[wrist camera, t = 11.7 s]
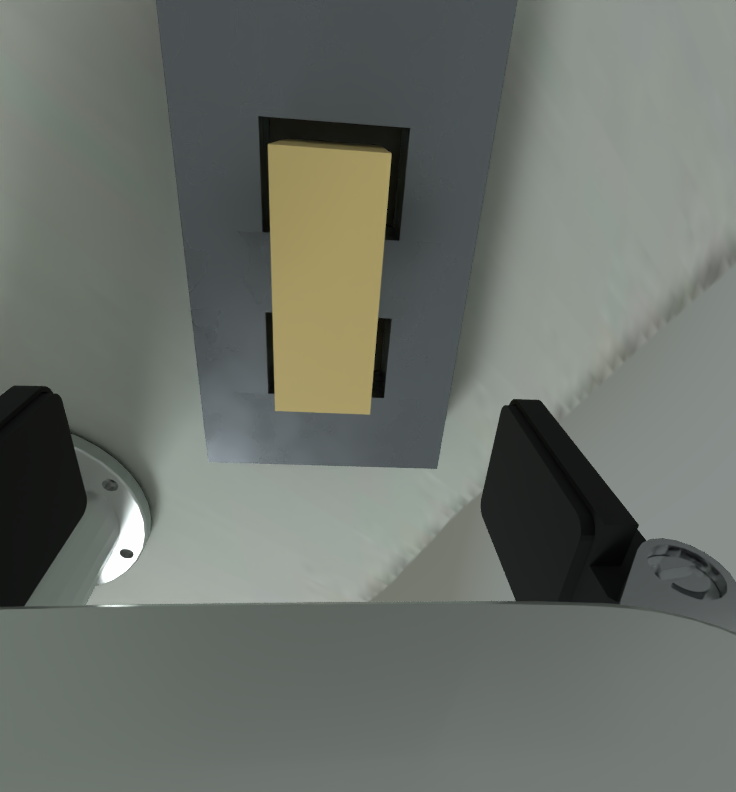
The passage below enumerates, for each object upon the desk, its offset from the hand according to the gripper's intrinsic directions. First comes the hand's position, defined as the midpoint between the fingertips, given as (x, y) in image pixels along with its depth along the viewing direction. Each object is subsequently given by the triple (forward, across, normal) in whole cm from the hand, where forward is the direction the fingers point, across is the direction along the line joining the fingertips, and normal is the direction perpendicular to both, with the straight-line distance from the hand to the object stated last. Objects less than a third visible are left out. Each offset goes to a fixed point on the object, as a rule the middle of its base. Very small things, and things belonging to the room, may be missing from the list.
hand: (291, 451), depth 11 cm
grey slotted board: (+15, -1, -1) cm, 15 cm away
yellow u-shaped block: (+15, -1, -1) cm, 15 cm away
